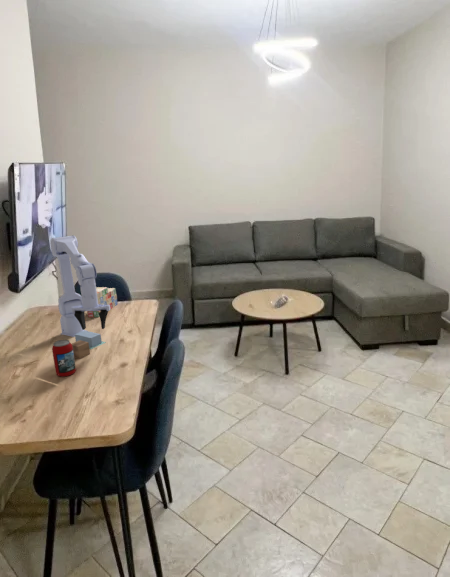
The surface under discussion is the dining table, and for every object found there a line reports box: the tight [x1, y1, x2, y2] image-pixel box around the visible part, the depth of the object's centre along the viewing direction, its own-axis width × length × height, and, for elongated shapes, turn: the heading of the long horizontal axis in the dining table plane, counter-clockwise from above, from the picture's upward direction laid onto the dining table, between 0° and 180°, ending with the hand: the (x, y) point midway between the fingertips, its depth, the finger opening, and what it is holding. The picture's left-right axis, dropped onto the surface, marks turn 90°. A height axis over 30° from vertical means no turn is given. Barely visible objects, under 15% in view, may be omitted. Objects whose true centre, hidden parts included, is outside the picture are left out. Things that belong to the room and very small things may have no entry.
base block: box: [74, 329, 102, 347], centre depth 180 cm, size 10×5×4 cm, turn 57°
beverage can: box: [51, 339, 77, 378], centre depth 153 cm, size 7×7×12 cm
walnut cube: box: [71, 340, 91, 359], centre depth 168 cm, size 5×5×5 cm
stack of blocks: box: [86, 286, 118, 318], centre depth 225 cm, size 21×6×12 cm, turn 169°
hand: (93, 328), depth 171 cm, fingers open, 7 cm apart
